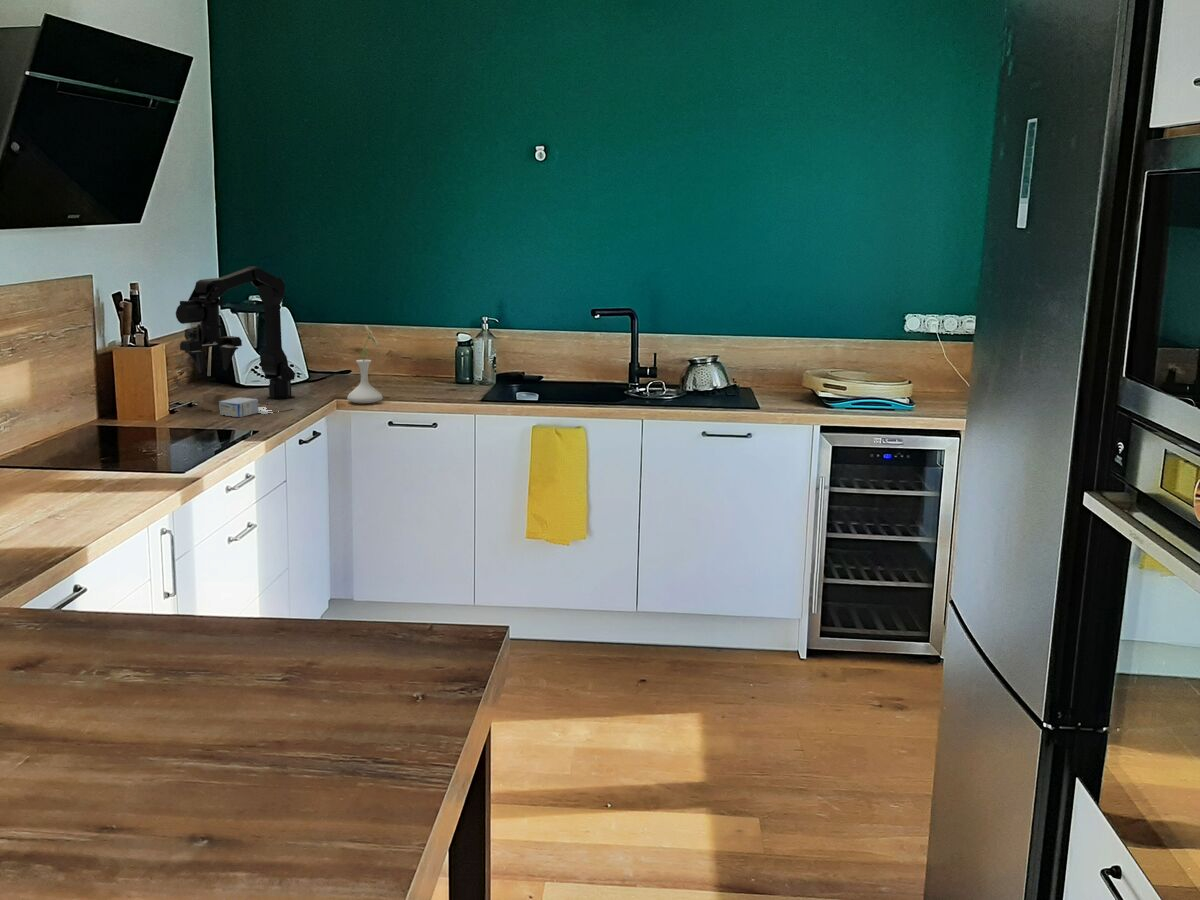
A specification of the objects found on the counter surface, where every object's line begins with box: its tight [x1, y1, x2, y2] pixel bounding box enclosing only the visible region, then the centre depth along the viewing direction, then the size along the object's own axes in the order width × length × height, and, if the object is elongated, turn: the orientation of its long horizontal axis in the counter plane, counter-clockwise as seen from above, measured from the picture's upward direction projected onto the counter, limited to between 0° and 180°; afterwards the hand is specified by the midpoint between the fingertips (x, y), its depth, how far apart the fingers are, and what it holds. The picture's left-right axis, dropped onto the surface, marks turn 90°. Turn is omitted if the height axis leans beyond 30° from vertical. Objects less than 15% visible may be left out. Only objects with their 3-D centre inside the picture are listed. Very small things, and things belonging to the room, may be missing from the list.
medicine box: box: [219, 396, 259, 418], centre depth 357 cm, size 8×4×9 cm
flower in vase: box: [346, 324, 383, 404], centre depth 378 cm, size 13×11×25 cm
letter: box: [257, 407, 280, 415], centre depth 366 cm, size 12×14×1 cm
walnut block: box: [202, 391, 227, 412], centre depth 365 cm, size 5×5×5 cm
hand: (212, 371), depth 363 cm, fingers open, 9 cm apart
